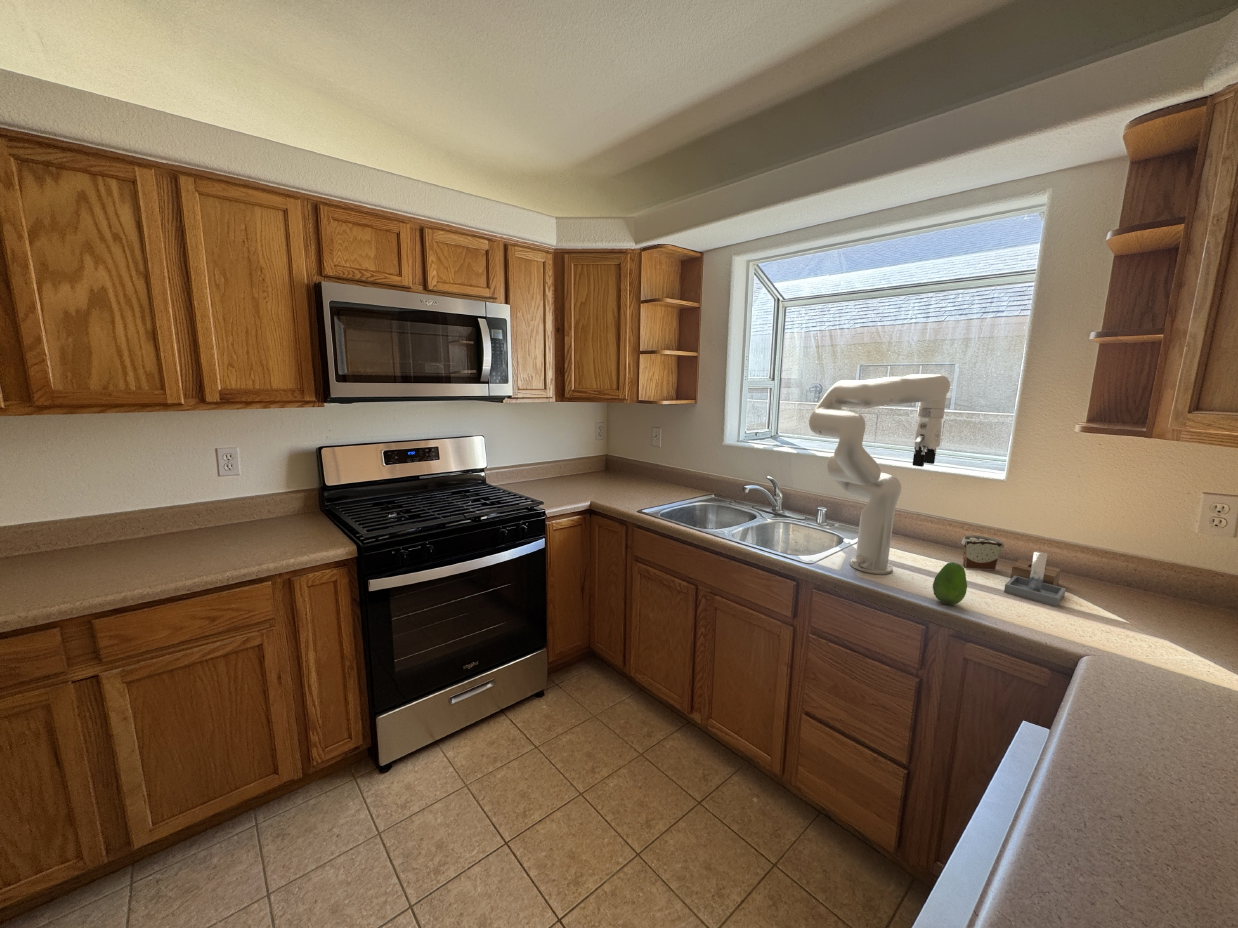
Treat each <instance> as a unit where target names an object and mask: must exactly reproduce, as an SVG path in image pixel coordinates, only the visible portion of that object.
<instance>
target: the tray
mask: <svg viewBox="0 0 1238 928" xmlns="http://www.w3.org/2000/svg"><path fill="white" fill-rule="evenodd" d="M1028 584H1029V579H1027V578H1023V577H1019V576H1015V575H1014V576H1013V577H1012V578H1011V577H1010V579H1009V580H1008V581H1007V582H1006V583H1005V584H1004V589H1003V593H1006V594H1010V595H1011V596H1012V595H1013V596H1017V597H1020V598H1023V599H1027V600H1031V601H1035V602H1037V603H1040V604H1041V603H1042V604H1045V605H1048V606H1052V607H1056V608H1057V607H1058V606H1059V605H1060V603H1061V602H1062V600H1063V599H1064V598H1065V595H1066V590H1067V588H1066V587H1061V586H1059V585H1057V586H1054V585H1050V584H1046V583H1042V589H1041V593H1039V592H1036V591H1032V590H1028Z"/></svg>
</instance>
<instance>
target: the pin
mask: <svg viewBox="0 0 1238 928" xmlns="http://www.w3.org/2000/svg"><path fill="white" fill-rule="evenodd" d="M1047 558H1048V554H1047V553H1046V552H1042V551H1033V555H1032V560H1031V562H1032V566H1031V572H1030V578H1029V584H1028V590H1032V591H1036V592H1039V593H1041V589H1042V583H1043V577H1044V571H1045V565H1047Z"/></svg>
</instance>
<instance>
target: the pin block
mask: <svg viewBox="0 0 1238 928" xmlns="http://www.w3.org/2000/svg"><path fill="white" fill-rule="evenodd" d="M1031 566H1032V560H1026V559H1022V558H1020V559H1019V560H1017V561H1016V563H1015V564H1013V565H1012V568H1011V572H1010V573H1011V575H1010V579H1011V578H1012V577H1013V576H1014V575H1015V576H1019V577H1023V578H1027V579H1029V578H1030V572H1031ZM1061 571H1062V568H1060V567H1056V566H1052V565H1048V564H1046V565H1045V571H1044V577H1043V583H1046V584H1050V585H1054V586H1059V583H1060V582H1059V580H1060V576H1061Z"/></svg>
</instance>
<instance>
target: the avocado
mask: <svg viewBox="0 0 1238 928" xmlns="http://www.w3.org/2000/svg"><path fill="white" fill-rule="evenodd" d="M967 589H968V582H967V575H966V570H965V568H964V567H963V565H961V564H959V563H957V562H948V563H945V564H944V565H943V567H942V568H941V570H939V572H937V574H936V576H935V578H934V579H933V583H932V590H933V591H932V592H933V595H934V597H935V598H936V600H937V601H939V602H941V603H942V604H945V605H957V604H959V603H961V601H963V599H964V598H965V596H966V595H967Z"/></svg>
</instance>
